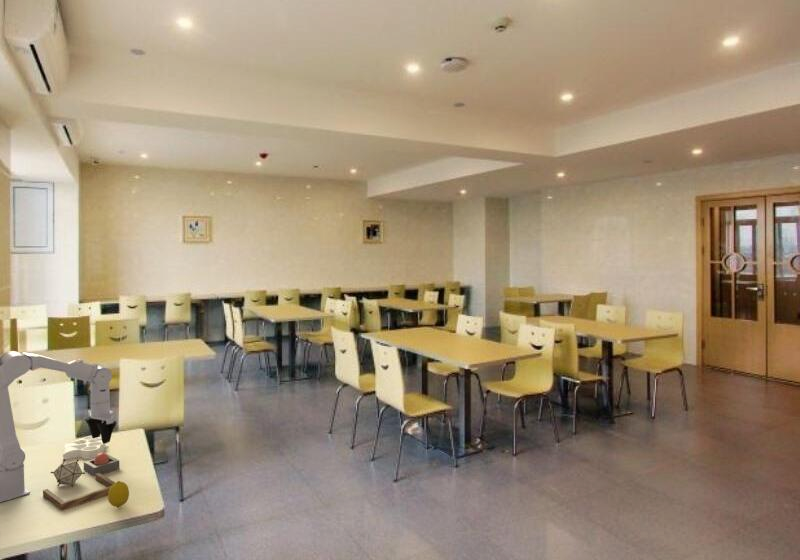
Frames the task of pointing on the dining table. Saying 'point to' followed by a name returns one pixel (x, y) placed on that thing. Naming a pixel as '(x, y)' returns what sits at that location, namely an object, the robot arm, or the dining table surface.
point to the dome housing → (101, 466)
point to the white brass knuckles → (84, 448)
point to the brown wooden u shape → (81, 499)
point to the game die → (68, 472)
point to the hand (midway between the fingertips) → (101, 440)
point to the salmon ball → (101, 459)
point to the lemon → (118, 494)
